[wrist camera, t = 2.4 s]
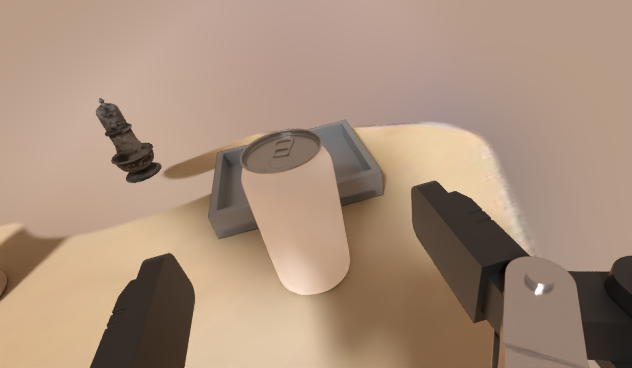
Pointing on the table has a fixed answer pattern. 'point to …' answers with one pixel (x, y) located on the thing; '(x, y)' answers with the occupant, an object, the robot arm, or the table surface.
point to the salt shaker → (127, 145)
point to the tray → (349, 166)
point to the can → (297, 209)
